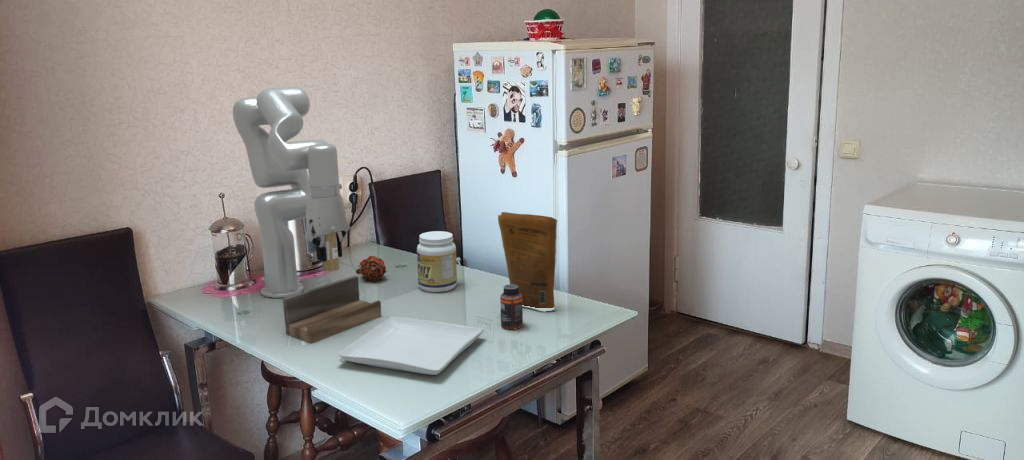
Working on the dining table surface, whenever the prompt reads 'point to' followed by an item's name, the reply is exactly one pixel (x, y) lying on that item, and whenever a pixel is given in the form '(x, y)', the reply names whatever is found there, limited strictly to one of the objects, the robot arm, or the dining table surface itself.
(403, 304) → the dining table surface
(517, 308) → the supplement bottle
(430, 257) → the supplement tub
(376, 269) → the dragon fruit
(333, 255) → the sprinkles bottle
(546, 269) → the pancake mix bag
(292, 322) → the spice rack
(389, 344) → the square plate
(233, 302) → the dining table surface
